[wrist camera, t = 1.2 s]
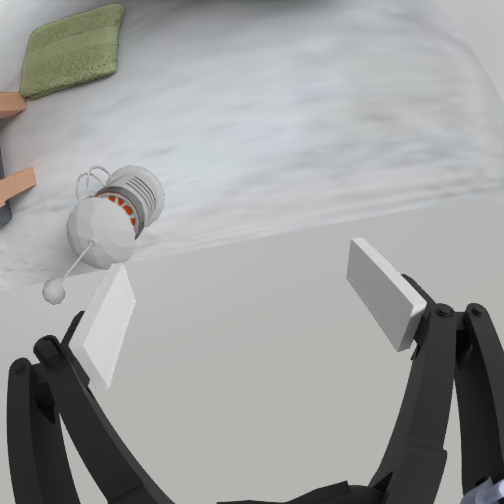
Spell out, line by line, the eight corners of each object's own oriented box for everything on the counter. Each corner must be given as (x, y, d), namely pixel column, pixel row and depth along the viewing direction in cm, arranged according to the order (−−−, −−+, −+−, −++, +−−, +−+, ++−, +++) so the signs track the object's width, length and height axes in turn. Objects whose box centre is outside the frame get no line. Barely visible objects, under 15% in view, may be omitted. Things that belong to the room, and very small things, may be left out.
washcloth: (33, 33, 22) (23, 29, 19) (128, 3, 24) (122, -4, 22) (26, 103, 28) (15, 103, 25) (120, 80, 30) (112, 77, 27)
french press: (123, 239, 40) (54, 358, 18) (87, 175, 35) (-26, 249, 13) (176, 212, 40) (135, 329, 18) (140, 142, 35) (38, 182, 12)
